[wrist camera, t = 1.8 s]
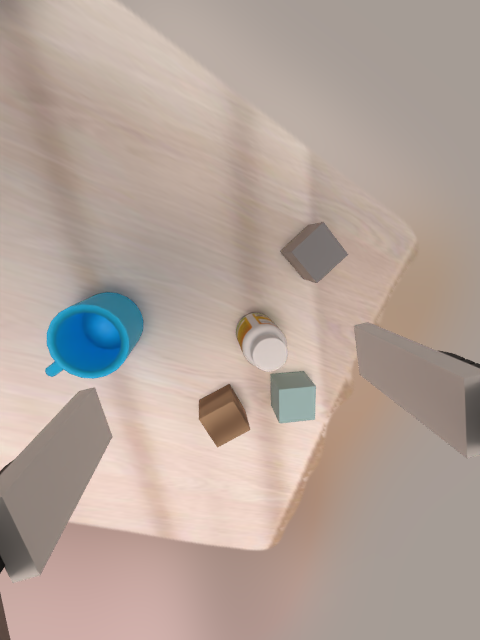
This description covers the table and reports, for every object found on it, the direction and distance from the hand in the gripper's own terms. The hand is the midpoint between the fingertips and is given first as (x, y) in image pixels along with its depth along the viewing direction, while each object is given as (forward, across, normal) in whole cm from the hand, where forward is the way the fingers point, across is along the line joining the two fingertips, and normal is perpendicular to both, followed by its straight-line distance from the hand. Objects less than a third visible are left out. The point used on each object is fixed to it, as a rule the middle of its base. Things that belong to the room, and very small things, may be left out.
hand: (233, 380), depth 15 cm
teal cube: (+27, +7, -15) cm, 32 cm away
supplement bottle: (+26, +4, -5) cm, 27 cm away
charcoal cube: (+26, +13, +4) cm, 29 cm away
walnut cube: (+26, -3, -15) cm, 31 cm away
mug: (+26, -16, 0) cm, 30 cm away
